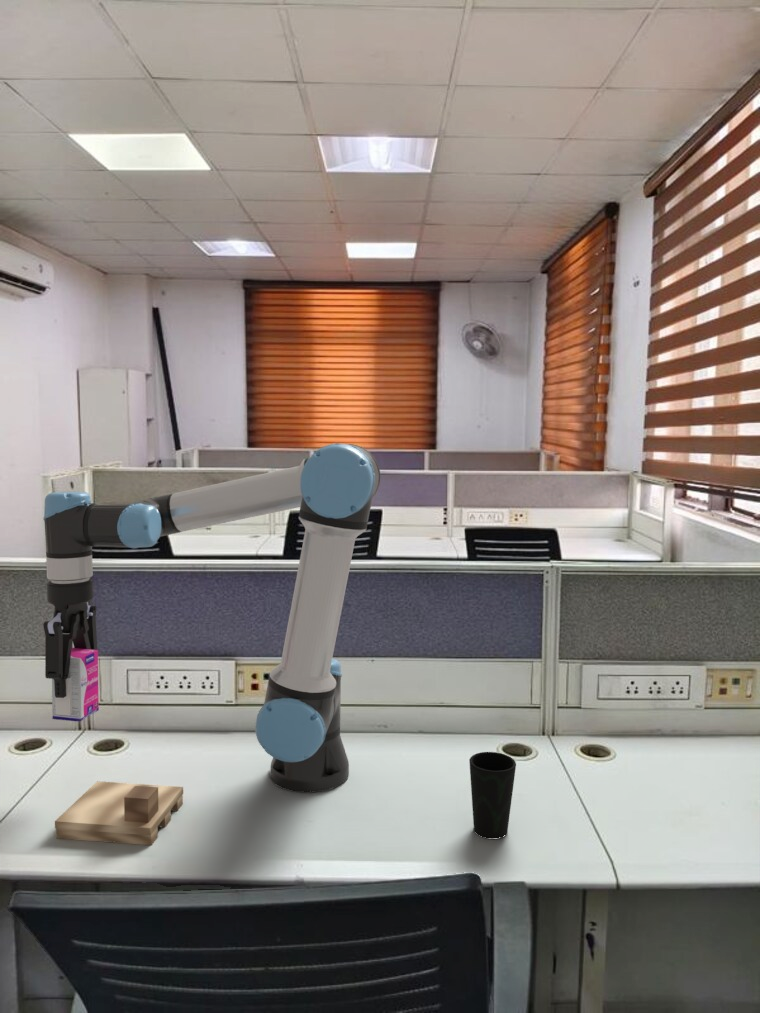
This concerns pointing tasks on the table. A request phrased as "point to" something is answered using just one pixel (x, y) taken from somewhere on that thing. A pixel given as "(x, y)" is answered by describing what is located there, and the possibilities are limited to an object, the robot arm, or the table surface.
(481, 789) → the cup
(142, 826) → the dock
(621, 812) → the table surface
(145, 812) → the brown wooden cube
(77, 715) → the supplement box
